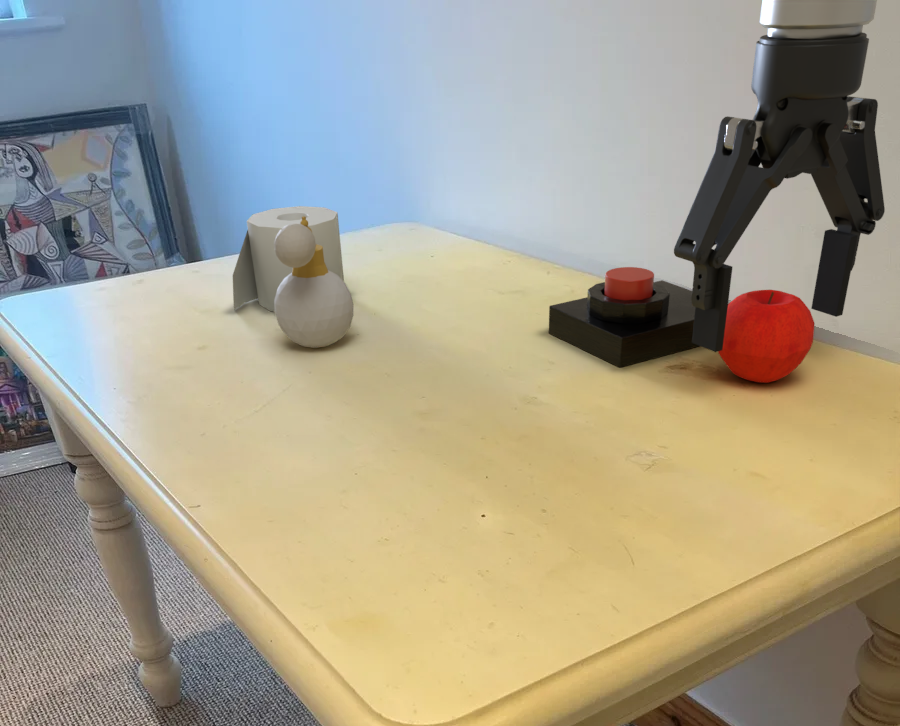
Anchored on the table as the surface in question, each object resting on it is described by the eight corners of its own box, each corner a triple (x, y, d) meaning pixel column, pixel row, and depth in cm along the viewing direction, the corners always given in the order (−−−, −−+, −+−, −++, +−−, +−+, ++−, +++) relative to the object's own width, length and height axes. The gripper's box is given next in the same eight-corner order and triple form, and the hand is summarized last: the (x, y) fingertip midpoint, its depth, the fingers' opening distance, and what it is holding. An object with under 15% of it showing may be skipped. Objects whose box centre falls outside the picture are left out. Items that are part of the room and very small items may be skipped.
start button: (631, 286, 89) (633, 264, 88) (662, 297, 86) (664, 275, 85) (594, 294, 87) (595, 272, 86) (624, 306, 84) (626, 283, 83)
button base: (659, 306, 96) (664, 261, 94) (736, 336, 89) (743, 288, 86) (548, 333, 91) (549, 286, 88) (619, 367, 83) (623, 317, 80)
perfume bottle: (347, 326, 95) (335, 200, 88) (370, 358, 87) (359, 223, 80) (273, 336, 93) (255, 208, 86) (290, 369, 85) (272, 232, 78)
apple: (701, 390, 78) (713, 301, 74) (714, 357, 84) (725, 274, 80) (801, 401, 76) (819, 310, 72) (807, 366, 82) (824, 280, 78)
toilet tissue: (215, 313, 99) (200, 228, 94) (304, 281, 108) (295, 202, 103) (273, 329, 95) (261, 241, 90) (362, 294, 103) (355, 212, 98)
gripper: (889, 14, 73) (838, 288, 85) (639, 44, 63) (621, 348, 76) (976, 17, 68) (908, 309, 80) (717, 50, 58) (684, 376, 70)
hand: (768, 329), depth 78 cm, fingers open, 13 cm apart
